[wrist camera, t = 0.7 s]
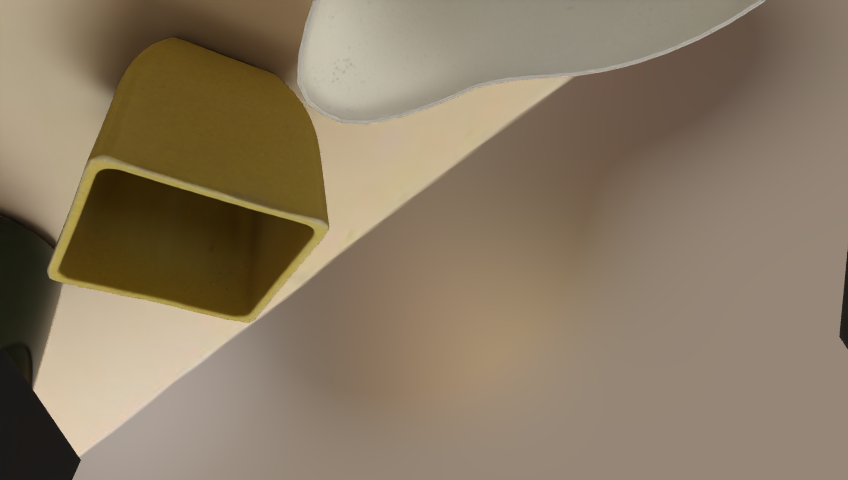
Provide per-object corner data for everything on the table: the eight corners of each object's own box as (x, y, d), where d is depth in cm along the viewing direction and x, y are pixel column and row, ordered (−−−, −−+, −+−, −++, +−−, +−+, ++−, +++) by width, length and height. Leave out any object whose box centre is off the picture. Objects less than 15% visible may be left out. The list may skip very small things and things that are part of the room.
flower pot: (341, 62, 35) (334, 230, 30) (267, 173, 41) (250, 328, 36) (138, -21, 31) (89, 155, 26) (89, 116, 37) (42, 279, 32)
